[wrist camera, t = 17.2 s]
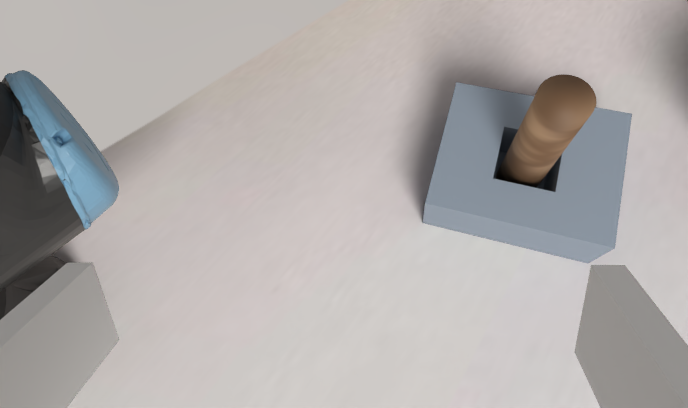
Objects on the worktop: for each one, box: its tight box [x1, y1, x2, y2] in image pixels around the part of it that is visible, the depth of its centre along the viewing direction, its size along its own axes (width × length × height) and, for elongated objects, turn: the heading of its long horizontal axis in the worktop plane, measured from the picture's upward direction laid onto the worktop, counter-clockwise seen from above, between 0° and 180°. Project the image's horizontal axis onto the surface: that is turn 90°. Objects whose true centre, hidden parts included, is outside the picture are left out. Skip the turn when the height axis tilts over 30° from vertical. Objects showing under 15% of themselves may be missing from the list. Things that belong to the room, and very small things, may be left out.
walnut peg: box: [496, 75, 596, 188], centre depth 40 cm, size 4×4×15 cm
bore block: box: [423, 82, 632, 263], centre depth 45 cm, size 16×13×6 cm
